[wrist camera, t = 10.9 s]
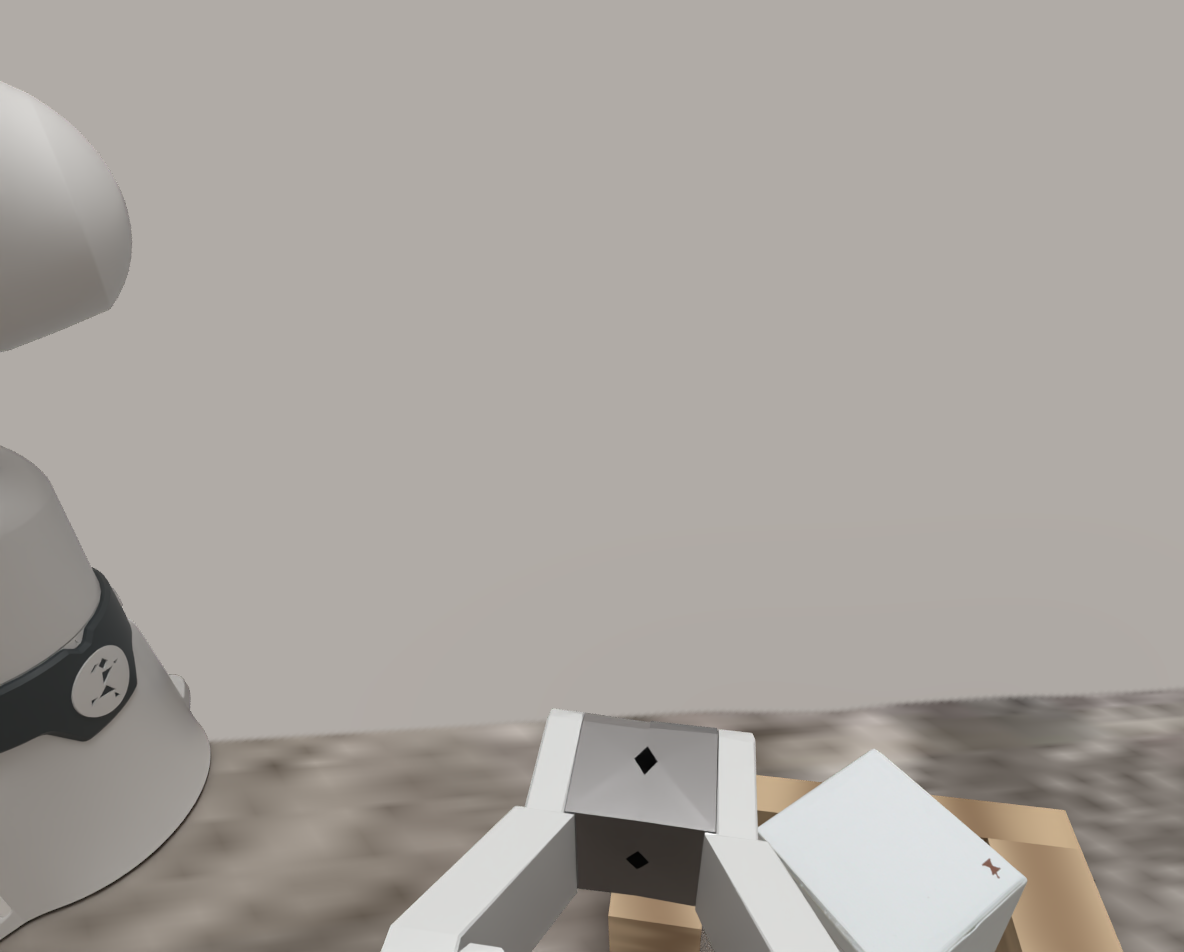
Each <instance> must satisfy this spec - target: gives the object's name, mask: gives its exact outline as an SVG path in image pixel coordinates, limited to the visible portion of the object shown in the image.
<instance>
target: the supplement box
mask: <svg viewBox="0 0 1184 952" xmlns="http://www.w3.org/2000/svg"><path fill="white" fill-rule="evenodd" d="M758 840H762V841H767V842H769V843H770V844H771V846H772V848H773V849H774V851H775V852H776V854H777V855H778V857H779V858H780V860H781V862H782V863H783V865H784V866H785V868H786V869H787V871H788V872H789V874H790V875H791V877H792V879H793V880H794V882H795V883H796V885H797V886H798V888H799V889H800V891H801V893H802V894H803V896H804V897H805V899H806V900H807V902H808V903H809V905H810V906H811V908H812V910H813V911H814V913H815V914H816V916H817V917H818V919H819V920H820V922H821V924H822V925H823V927H824V928H825V930H826V931H827V933H828V934H829V936H830V938H831V939H832V941H833V942H834V944H835V945H836V947H837V948H838V950H839V951H840V952H995V950H996V948H997V946H998V944H999V942H1000V940H1001V938H1002V935H1003V933H1004V931H1005V929H1006V927H1007V925H1008V922H1009V920H1010V918H1011V916H1012V914H1013V912H1014V910H1015V908H1016V905H1017V903H1018V901H1019V899H1020V897H1021V895H1022V892H1023V890H1024V888H1025V886H1026V884H1027V878H1026V877H1025V876H1024V875H1023V874H1021V873H1020V872H1019V871H1018V870H1017V869H1015V868H1014V867H1013V866H1012V865H1011V864H1010V863H1009V862H1007V861H1006V860H1005V859H1004V858H1003V857H1002V856H1001V855H1000V854H998V853H997V852H996V851H995V850H994V849H993V848H992V847H990V846H989V845H988V844H987V843H986V842H985V841H983V840H982V839H981V838H980V837H979V836H978V835H976V834H975V833H974V832H973V831H972V830H971V829H969V828H968V827H967V826H966V825H965V824H964V823H962V822H961V821H960V820H959V819H958V818H957V817H955V816H954V815H953V814H952V813H951V812H950V811H948V810H947V809H946V808H945V807H944V806H942V805H941V804H940V803H939V802H938V801H937V800H936V799H934V798H933V797H932V796H931V795H930V794H929V793H927V792H926V791H925V790H924V789H923V788H922V787H920V786H919V785H918V784H917V783H916V782H915V781H913V780H912V779H911V778H910V777H909V776H907V775H906V774H905V773H904V772H903V771H902V770H901V769H899V768H898V767H897V766H896V765H895V764H894V763H892V762H891V761H890V760H889V759H888V758H886V757H885V756H884V755H883V754H881V753H880V752H879V751H877V750H876V749H872V750H870V751H868V752H867V753H865V754H864V755H863V756H861V757H860V758H858V759H857V760H855V761H854V762H852V763H851V764H849V765H848V766H846V767H845V768H843V769H842V770H840V771H839V772H837V773H836V774H834V775H833V776H832V777H830V778H829V779H827V780H826V781H824V782H823V783H821V784H820V785H818V786H817V787H816V788H814V789H813V790H811V791H810V792H808V793H807V794H805V795H804V796H802V797H801V798H799V799H798V800H797V801H795V802H794V803H792V804H791V805H789V806H788V807H786V808H785V809H784V810H782V811H781V812H779V813H778V814H776V815H775V816H773V817H772V818H770V819H769V820H768V821H766V822H765V823H763V824H762V825H760V826H759V827H758Z"/></svg>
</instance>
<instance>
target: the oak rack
mask: <svg viewBox="0 0 1184 952" xmlns="http://www.w3.org/2000/svg"><path fill="white" fill-rule="evenodd" d="M821 783H822V782H813V781H804V780H795V779H787V778H778V777H769V776H760V775H756V786H757V819H758V827H759V826H760V825H762V824H763V823H765V822H766V821H768V820H769V819H770V818H772V817H773V816H775V815H776V814H778V813H779V812H781V811H782V810H784V809H785V808H786V807H788V806H789V805H791V804H792V803H794V802H795V801H797V800H798V799H799V798H801V797H802V796H804V795H805V794H807V793H808V792H810V791H811V790H813V789H814V788H816V787H817V786H818V785H820V784H821ZM931 796H932V797H933V798H934V799H936V800H937V801H938V802H939V803H940V804H941V805H942V806H944V807H945V808H946V809H947V810H948V811H950V812H951V813H952V814H953V815H954V816H955V817H957V818H958V819H959V820H960V821H961V822H962V823H964V824H965V825H966V826H967V827H968V828H969V829H971V830H972V831H973V832H974V833H975V834H976V835H978V836H979V837H980V838H981V839H982V840H983V841H985V842H986V843H987V844H988V845H989V846H990V847H992V848H993V849H994V850H995V851H996V852H997V853H998V854H1000V855H1001V856H1002V857H1003V858H1004V859H1005V860H1006V861H1007V862H1009V863H1010V864H1011V865H1012V866H1013V867H1014V868H1015V869H1017V870H1018V871H1019V872H1020V873H1021V874H1023V875H1024V876H1025V877H1026V878H1027V884H1026V886H1025V888H1024V890H1023V892H1022V895H1021V897H1020V899H1019V901H1018V903H1017V905H1016V908H1015V910H1014V912H1013V914H1012V916H1011V918H1010V920H1009V922H1008V925H1007V927H1006V929H1005V931H1004V933H1003V935H1002V938H1001V940H1000V942H999V944H998V946H997V948H996V950H995V952H1123V950H1122V948H1121V945H1120V943H1119V941H1118V938H1117V936H1116V933H1115V931H1114V928H1113V926H1112V923H1111V921H1110V919H1109V916H1108V914H1107V911H1106V909H1105V906H1104V904H1103V902H1102V899H1101V897H1100V894H1099V892H1098V889H1097V887H1096V885H1095V882H1094V880H1093V877H1092V875H1091V872H1090V870H1089V867H1088V865H1087V863H1086V860H1085V858H1084V855H1083V853H1082V850H1081V848H1080V846H1079V843H1078V841H1077V838H1076V836H1075V833H1074V831H1073V829H1072V826H1071V824H1070V821H1069V819H1068V816H1067V814H1066V812H1065V810H1057V809H1049V808H1040V807H1031V806H1023V805H1014V804H1005V803H996V802H988V801H979V800H970V799H961V798H953V797H944V796H935V795H931ZM608 921H609V947H610V952H700V941H701V929H702V924H701V922H700V920H699V917H698V915H697V913H696V911H695V906H689V905H684V904H678V903H673V902H668V901H662V900H657V899H651V898H646V897H640V896H634V895H626V894H618V893H611V900H610V907H609V914H608Z"/></svg>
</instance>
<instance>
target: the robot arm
mask: <svg viewBox="0 0 1184 952" xmlns="http://www.w3.org/2000/svg"><path fill="white" fill-rule="evenodd" d="M131 253H132V234H131V224H130V220H129V215H128V210H127V207H126V203H125V200H124V198H123V195H122V192H121V190H120V188H119V186H118V184H117V182H116V180H115V178H114V176H113V174H112V173H111V171H110V169H109V168H108V166H107V165H106V163H105V162H104V160H103V159H102V157H101V156H100V155H99V153H98V152H97V151H96V150H95V148H94V147H93V146H92V145H91V144H90V142H89V141H88V140H87V139H86V138H85V137H84V136H83V135H82V134H81V133H80V132H79V131H78V130H77V129H76V128H75V127H74V126H73V125H72V124H70V123H69V122H68V121H67V120H66V119H65V118H63V117H62V116H61V115H60V114H59V113H57V112H56V111H54V110H53V109H52V108H50V107H49V106H47V105H46V104H44V103H43V102H41V101H40V100H38V99H37V98H35V97H33V96H32V95H30V94H28V93H27V92H25V91H23V90H20V89H17V88H15V87H13V86H11V85H9V84H6V83H5V82H3V81H0V352H4V351H8V350H12V349H14V348H17V347H19V346H22V345H24V344H27V343H29V342H32V341H35V340H37V339H40V338H42V337H45V336H48V335H50V334H53V333H55V332H58V331H60V330H63V329H65V328H68V327H70V326H72V325H74V324H77V323H79V322H82V321H84V320H86V319H89V318H91V317H93V316H96V315H98V314H100V313H102V312H105V311H107V310H109V309H110V308H111V307H112V306H113V304H114V303H115V301H116V299H117V298H118V296H119V294H120V292H121V290H122V288H123V286H124V284H125V280H126V278H127V275H128V271H129V267H130V261H131ZM122 606H123V604H122V602H121V600H120V599H119V596H118V594H117V593H116V591H115V590H114V589H113V588H111V586H110V584H109V582H108V581H107V579H106V578H105V576H104V575H103V574H102V573H101V572H99V571H98V570H96V569H94V568H93V567H91V565H90V563H89V561H88V559H87V557H86V555H85V553H84V551H83V549H82V547H81V545H80V543H79V540H78V538H77V536H76V534H75V532H74V530H73V528H72V526H71V524H70V522H69V520H68V518H67V516H66V513H65V511H64V509H63V507H62V505H61V503H60V501H59V499H58V497H57V495H56V493H55V491H54V489H53V487H52V485H51V483H50V481H49V479H48V478H47V476H46V475H45V474H44V473H43V472H42V471H41V470H40V469H39V468H38V467H37V466H35V465H34V464H33V463H32V462H30V461H29V460H27V459H26V458H25V457H23V456H21V455H19V454H18V453H16V452H14V451H12V450H10V449H7V448H5V447H3V446H0V940H1V939H2V938H4V937H5V936H7V935H8V934H10V933H11V932H12V931H14V930H15V929H17V928H18V927H20V926H21V925H22V924H24V923H25V922H27V921H29V920H31V919H33V918H35V917H37V916H40V915H42V914H44V913H47V912H49V911H52V910H55V909H57V908H60V907H62V906H65V905H68V904H70V903H73V902H75V901H77V900H80V899H82V898H84V897H86V896H88V895H90V894H92V893H94V892H96V891H98V890H100V889H102V888H103V887H105V886H107V885H109V884H110V883H112V882H114V881H115V880H117V879H118V878H120V877H121V876H123V875H124V874H126V873H127V872H129V871H130V870H131V869H133V868H134V867H136V866H137V865H138V864H139V863H141V862H142V861H143V860H145V859H146V858H147V857H148V856H149V855H150V854H152V853H153V852H154V851H155V850H156V849H157V848H158V847H159V846H160V845H161V844H162V843H163V842H164V841H165V840H166V839H167V838H168V837H169V836H170V835H171V834H172V833H173V832H174V831H175V830H176V828H177V827H178V826H179V825H180V824H181V822H182V821H183V820H184V819H185V817H186V816H187V814H188V813H189V812H190V810H191V808H192V807H193V805H194V804H195V802H196V800H197V798H198V797H199V795H200V793H201V791H202V788H203V786H204V784H205V781H206V778H207V775H208V771H209V766H210V745H209V740H208V738H207V735H206V733H205V731H204V729H203V728H202V726H201V725H200V724H199V723H198V722H197V720H196V719H195V718H194V717H193V715H192V713H191V711H190V690H189V687H188V685H187V684H186V682H185V681H184V679H183V678H182V677H181V676H179V675H176V674H168V673H167V671H166V670H165V668H164V667H163V665H162V663H161V662H160V660H159V659H158V657H157V655H156V654H155V652H154V651H153V649H152V648H151V646H150V645H149V643H148V642H147V640H146V639H145V637H144V636H143V634H142V633H141V631H140V629H139V628H138V626H137V625H136V624H135V623H134V622H133V621H132V620H131V619H129V618H127V617H126V615H125V613H124V611H123V608H122ZM577 888H579V889H586V890H594V891H602V892H610V893H618V894H626V895H634V896H640V897H646V898H651V899H657V900H662V901H668V902H673V903H678V904H684V905H689V906H695V911H696V913H697V915H698V917H699V920H700V922H701V924H702V926H703V928H704V930H705V933H706V935H707V937H708V939H709V941H710V944H711V946H712V948H713V950H714V952H840V951H839V950H838V948H837V947H836V945H835V944H834V942H833V941H832V939H831V938H830V936H829V934H828V933H827V931H826V930H825V928H824V927H823V925H822V924H821V922H820V920H819V919H818V917H817V916H816V914H815V913H814V911H813V910H812V908H811V906H810V905H809V903H808V902H807V900H806V899H805V897H804V896H803V894H802V893H801V891H800V889H799V888H798V886H797V885H796V883H795V882H794V880H793V879H792V877H791V875H790V874H789V872H788V871H787V869H786V868H785V866H784V865H783V863H782V862H781V860H780V858H779V857H778V855H777V854H776V852H775V851H774V849H773V848H772V846H771V844H770V843H769V842H767V841H762V840H758V819H757V786H756V752H755V739H754V736H753V734H752V733H747V732H738V731H729V730H721V729H719V730H718V731H717V728H711V727H702V726H693V725H683V724H674V723H665V722H656V721H651V722H644V721H637V720H631V719H624V718H617V717H611V716H604V715H597V714H590V713H584V712H577V711H569V710H561V709H552V710H551V712H550V714H549V716H548V718H547V721H546V725H545V729H544V733H543V737H542V741H541V745H540V749H539V753H538V757H537V761H536V765H535V769H534V772H533V776H532V780H531V784H530V788H529V792H528V796H527V800H526V804H525V807H521V806H514V807H513V808H512V809H511V810H510V811H509V812H508V813H507V814H506V815H505V816H504V817H503V818H502V819H501V820H500V821H499V822H498V823H497V824H496V825H495V826H494V827H493V828H492V829H490V830H489V831H488V832H487V833H486V834H485V835H484V836H483V837H482V838H481V839H480V840H479V841H478V842H477V843H476V844H475V845H474V846H473V847H472V848H471V849H470V850H469V851H468V852H467V853H466V854H465V855H463V856H462V857H461V858H460V859H459V860H458V861H457V862H456V863H455V864H454V865H453V866H452V867H451V868H450V869H449V870H448V871H447V872H446V873H445V874H444V875H443V876H442V877H441V878H440V879H439V880H438V881H436V882H435V883H434V884H433V885H432V886H431V887H430V888H429V889H428V890H427V891H426V892H425V893H424V894H423V895H422V896H421V897H420V898H419V899H418V900H417V901H416V902H415V903H414V904H413V905H412V906H411V907H409V908H408V909H407V910H406V911H405V912H404V913H403V914H402V915H401V916H400V917H399V918H398V919H397V920H396V921H395V922H394V923H393V924H392V925H391V926H390V929H389V931H388V934H387V937H386V939H385V942H384V945H383V948H382V950H381V952H532V950H533V949H534V948H535V946H536V945H537V944H538V943H539V941H540V940H541V939H542V937H543V936H544V935H545V934H546V932H547V931H548V930H549V928H550V927H551V926H552V924H553V923H554V922H555V921H556V919H557V918H558V917H559V915H560V914H561V913H562V911H563V910H564V909H565V908H566V906H567V905H568V904H569V902H570V901H571V900H572V898H573V897H574V896H575V895H576V893H577Z"/></svg>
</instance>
